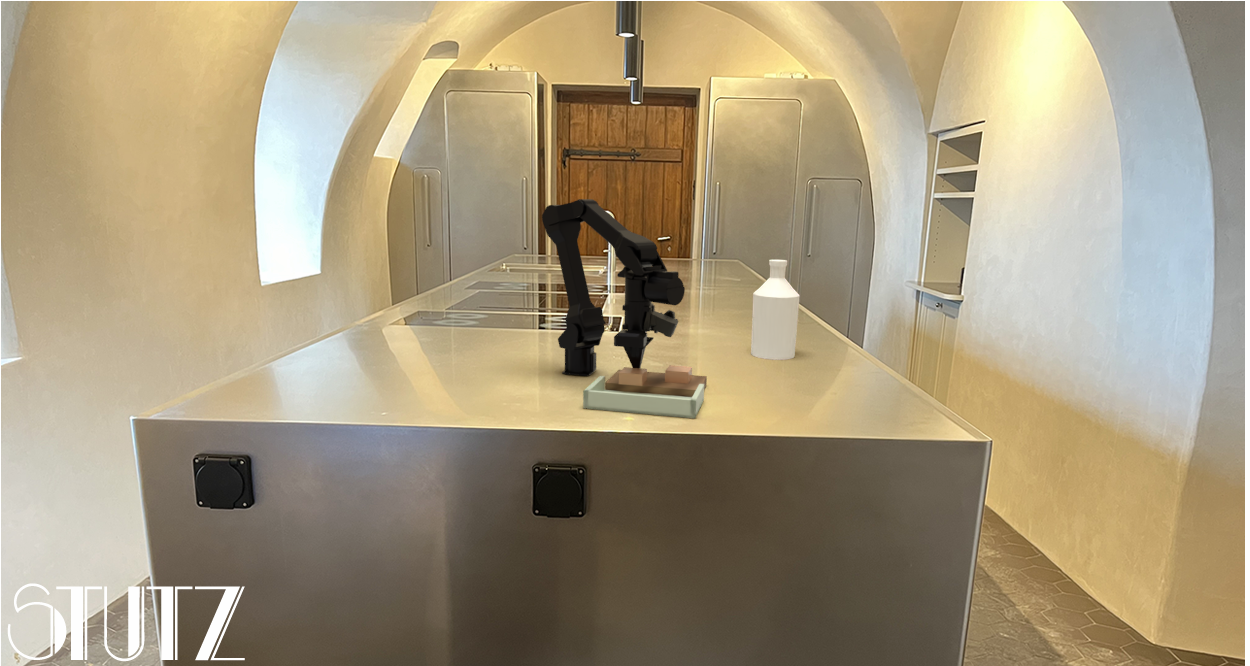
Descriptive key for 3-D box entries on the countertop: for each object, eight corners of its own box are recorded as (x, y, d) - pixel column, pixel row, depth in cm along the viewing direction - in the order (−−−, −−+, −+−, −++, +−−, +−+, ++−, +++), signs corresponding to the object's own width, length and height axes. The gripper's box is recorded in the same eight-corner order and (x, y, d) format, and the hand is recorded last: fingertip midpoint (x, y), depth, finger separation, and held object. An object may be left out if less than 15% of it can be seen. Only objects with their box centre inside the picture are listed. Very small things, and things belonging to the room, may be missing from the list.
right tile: (664, 381, 154) (665, 370, 154) (669, 376, 159) (669, 365, 159) (688, 383, 153) (688, 372, 153) (691, 378, 158) (692, 366, 157)
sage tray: (583, 408, 141) (583, 390, 141) (600, 391, 153) (600, 375, 152) (695, 418, 136) (695, 400, 136) (703, 400, 148) (704, 384, 147)
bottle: (800, 360, 186) (806, 263, 181) (753, 359, 186) (759, 262, 181) (790, 350, 197) (796, 258, 192) (746, 349, 197) (751, 257, 193)
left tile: (618, 384, 152) (618, 372, 151) (624, 378, 156) (624, 367, 156) (641, 386, 151) (642, 374, 150) (646, 380, 155) (647, 368, 155)
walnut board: (605, 391, 153) (605, 382, 153) (618, 378, 165) (619, 369, 164) (699, 399, 149) (699, 390, 148) (706, 385, 160) (706, 376, 160)
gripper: (668, 308, 143) (666, 385, 146) (682, 295, 160) (680, 363, 163) (613, 305, 145) (612, 381, 148) (633, 293, 163) (632, 360, 166)
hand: (636, 371), depth 156 cm, fingers closed
